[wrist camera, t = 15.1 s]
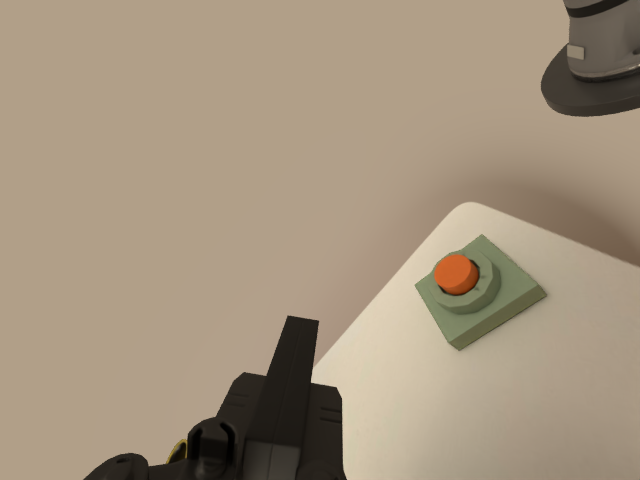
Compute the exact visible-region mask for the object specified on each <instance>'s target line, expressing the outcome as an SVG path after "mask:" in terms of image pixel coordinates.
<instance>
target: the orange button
mask: <svg viewBox="0 0 640 480" xmlns="http://www.w3.org/2000/svg"><path fill="white" fill-rule="evenodd" d="M434 277H435V281H436V282H437V284H438V285H440V286H441V287H442V288H443V289H444V290H445V291H446V292H448V293H450V294H453V295H461V294H464V293H466V292H468V291H470V290H471V289H472V288H473V287H474V286H475V285H476V283H477V281H478V277H479V274H478V270H477V268H476V267H475V266H474V265H473V263H472V262H471V261H470V260H469V259H468V258H467V257H465V256H463V255H451V256H448V257H446V258H444V259H443V260H442V261H441V262H440V263H439V264H438V265H437V267H436V269H435V272H434Z"/></svg>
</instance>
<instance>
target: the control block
mask: <svg viewBox="0 0 640 480" xmlns="http://www.w3.org/2000/svg"><path fill="white" fill-rule="evenodd" d="M451 255H463V256H465V257H467V258H468V259H469V260H470V261H471V262H472V263H473V265H474V266H475V267H476V268H477V270H478V274H479V277H478V281H477V283H476V285H475V286H474V287H473V288H472V289H471V290H470V291H468V292H466V293H464V294H461V295H453V294H450V293H448V292H446V291H445V290H444V289H443V288H442V287H441V286H440V285H438V284H437V282H436V281H435V277H434V272H435V269H436V267H437V265H438V264H439V263H440V262H441V261H442V260H443V259H444V258H446V257H448V256H451ZM444 258H442V259H441V260H440V261H439V262H437V264H436V265H435V267H434V269H433V270H432V272H431V273H430V274H428V275H427V276H426V277H424V278H423V279H422V280H420V281H419V282H418V283H416V284H415V287H416V289H417V290H418V292H419V294H420V295H421V297H422V299H423V301H424V302H425V304H426V306H427V307H428V309H429V311H430V312H431V314H432V316H433V318H434V319H435V321H436V323H437V324H438V326H439V328H440V330H441V331H442V333H443V335H444V336H445V338H446V340H447V342H448V343H449V344H451V345H452V346H453V347H455V348H456V349H457V350H461V349H462V348H464V347H465V346H467V345H469V344H470V343H472V342H473V341H475V340H477V339H478V338H480V337H481V336H483V335H484V334H486V333H488V332H489V331H491V330H492V329H494V328H496V327H497V326H499V325H500V324H502V323H504V322H505V321H507V320H508V319H510V318H512V317H513V316H515V315H516V314H518V313H519V312H521V311H523V310H524V309H526V308H527V307H529V306H531V305H532V304H534V303H535V302H537V301H539V300H540V299H542V298H543V297H545V296H546V293H545V292H544V291H543V289H542V288H541V287H540V286H539V284H538V283H536V282H535V281H534V280H533V279H532V278H531V277H530V276H529V275H527V274H526V273H525V272H524V271H523V270H522V269H521V268H520V267H518V266H517V265H516V264H515V263H514V262H513V261H512V260H511V259H510V258H508V257H507V256H506V255H505V254H504V253H503V252H502V251H501V250H499V249H498V248H497V247H496V246H495V245H494V244H493V243H492V242H490V241H489V240H488V239H487V238H486V237H485V236H484V235H483V234H481V235H480V236H479V237H477V238H476V239H475V240H474V241H472V242H471V243H470V244H468V245H467V246H466V247H464V248H463V249H462V250H459V251H455V252H452V253H449V254H448V255H446V256H445V257H444Z"/></svg>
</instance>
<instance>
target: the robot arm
mask: <svg viewBox="0 0 640 480" xmlns="http://www.w3.org/2000/svg"><path fill="white" fill-rule="evenodd" d="M563 1H564V4H565V7H566V9H567V12H568V15H569V17H570V28H569V45H567V56H568V66H569V68H570V71H571V73H572V75H573V77H574V78H575V79H577V80H579V81H581V82H586V83H603V82H610V81H615V80H620V79H624V78H627V77H631V76H634V75H637V74H640V0H563ZM318 325H319V321H317V320H312V319H305V318H300V317H294V316H287V319H286V322H285V325H284V328H283V331H282V333H281V336H280V339H279V342H278V345H277V347H276V350H275V353H274V356H273V359H272V362H271V364H270V367H269V370H268V373H267V376H263V375H257V374H251V373H246V372H244V373H242V374H241V375H240V376H239V377H238V378H236V380H234V382H233V383H232V385H231V387H230V389H229V391H228V394H227V395H226V397H225V399H224V401H223V404H222V405H221V407H220V410H219V411H218V413H217V415H216V417H213V418H209V419H206V420H203V421H201V422H200V423H198V424H197V425H195V426H194V427H193V428H192V430H191V431H190V432H189V433H188V439H187V458H184V459H182V460H180V461H178V462H173V463H169V464H163V465H156V466H148V462H147V460H146V459H145V458H144V457H143V456H142V455H139V454H134V453H128V454H120V455H118V456H115V457H113V458H110V459H108V460H107V461H105V462H104V463H102V464H101V465H100V466H98V467H97V468H96V469H94V470H93V471H92V472H91V473H90V474H89V475H88V476H87V477H86V478H85V479H84V480H347V479H346V476H345V473H344V470H343V440H342V398H341V396H340V394H339V392H338V390H337V387H332V386H326V385H320V384H314V383H311V376H312V369H313V362H314V354H315V347H316V340H317V332H318Z"/></svg>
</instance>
